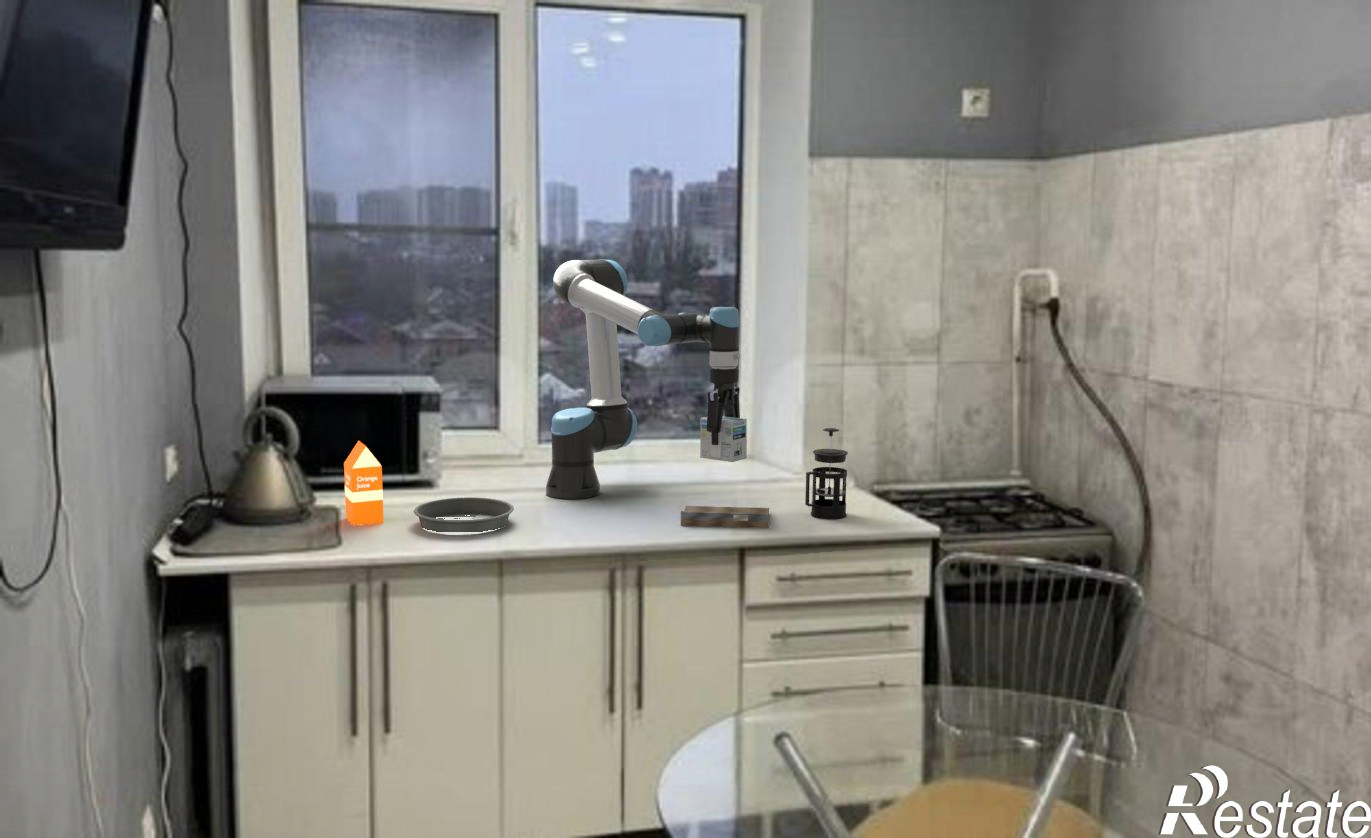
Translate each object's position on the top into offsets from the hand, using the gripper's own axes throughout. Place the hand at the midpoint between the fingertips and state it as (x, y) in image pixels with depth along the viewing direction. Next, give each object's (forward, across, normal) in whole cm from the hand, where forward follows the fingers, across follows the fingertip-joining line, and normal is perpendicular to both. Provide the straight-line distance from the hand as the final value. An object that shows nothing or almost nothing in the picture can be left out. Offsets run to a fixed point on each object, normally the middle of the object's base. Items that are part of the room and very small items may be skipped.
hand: (723, 454), depth 310 cm
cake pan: (+16, -45, +50) cm, 69 cm away
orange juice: (+15, -55, +74) cm, 93 cm away
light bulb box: (+1, 0, 0) cm, 1 cm away
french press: (+16, +11, -25) cm, 31 cm away
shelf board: (+16, -7, -4) cm, 17 cm away
